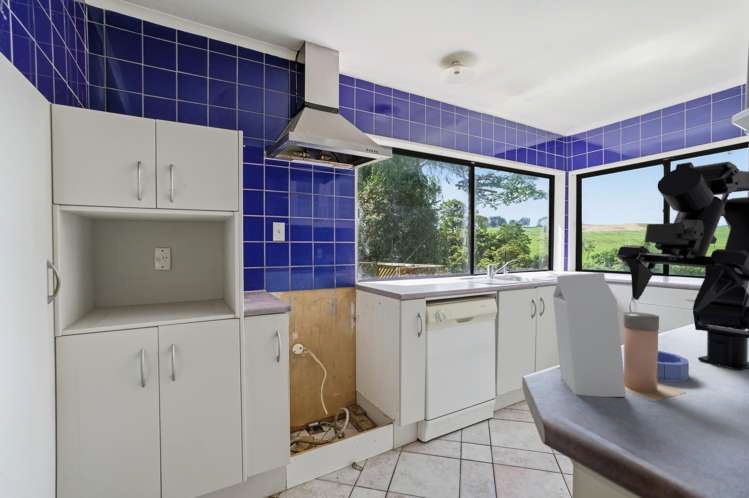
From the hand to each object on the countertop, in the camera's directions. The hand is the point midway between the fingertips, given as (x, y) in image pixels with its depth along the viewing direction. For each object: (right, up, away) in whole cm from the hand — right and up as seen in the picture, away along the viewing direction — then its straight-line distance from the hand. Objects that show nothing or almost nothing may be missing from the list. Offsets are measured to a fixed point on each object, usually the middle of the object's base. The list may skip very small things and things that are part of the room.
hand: (663, 304), depth 59 cm
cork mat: (-6, -14, -3) cm, 15 cm away
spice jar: (-6, -13, -3) cm, 15 cm away
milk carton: (-14, -14, -3) cm, 20 cm away
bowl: (+2, -14, +4) cm, 14 cm away
